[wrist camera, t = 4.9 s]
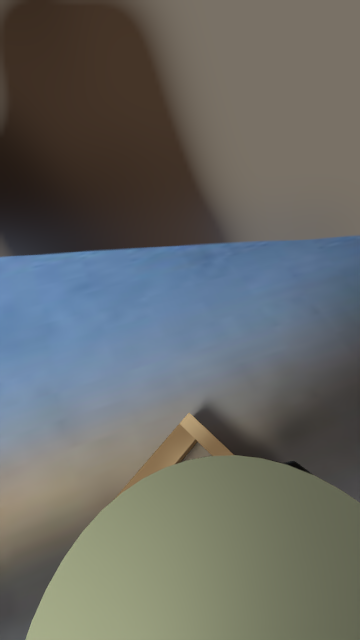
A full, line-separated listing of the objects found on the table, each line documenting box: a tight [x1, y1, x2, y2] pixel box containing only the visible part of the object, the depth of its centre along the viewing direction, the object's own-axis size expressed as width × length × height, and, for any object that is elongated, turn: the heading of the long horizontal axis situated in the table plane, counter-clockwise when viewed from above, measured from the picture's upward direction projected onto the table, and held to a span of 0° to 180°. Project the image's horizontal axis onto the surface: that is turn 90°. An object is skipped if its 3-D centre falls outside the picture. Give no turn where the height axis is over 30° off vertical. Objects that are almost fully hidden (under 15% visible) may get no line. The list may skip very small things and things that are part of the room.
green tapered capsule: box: [26, 455, 360, 640], centre depth 8 cm, size 4×4×13 cm
